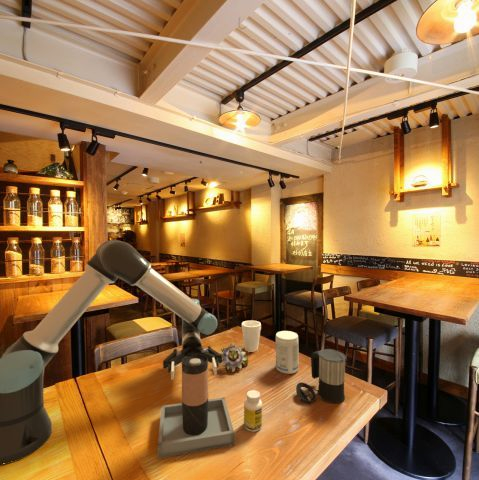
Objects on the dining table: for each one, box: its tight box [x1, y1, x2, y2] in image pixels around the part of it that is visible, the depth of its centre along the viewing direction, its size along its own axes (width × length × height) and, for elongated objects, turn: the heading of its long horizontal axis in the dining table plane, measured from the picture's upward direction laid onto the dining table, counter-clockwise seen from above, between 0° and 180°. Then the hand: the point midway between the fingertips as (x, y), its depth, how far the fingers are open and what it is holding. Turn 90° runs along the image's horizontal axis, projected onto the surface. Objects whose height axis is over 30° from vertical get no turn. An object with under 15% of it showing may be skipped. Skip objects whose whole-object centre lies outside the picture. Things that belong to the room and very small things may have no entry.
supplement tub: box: [275, 330, 300, 375], centre depth 114 cm, size 10×10×15 cm
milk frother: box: [295, 348, 347, 404], centre depth 95 cm, size 14×16×15 cm
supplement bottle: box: [243, 389, 263, 433], centre depth 81 cm, size 5×5×10 cm
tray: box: [157, 397, 235, 460], centre depth 79 cm, size 20×16×4 cm
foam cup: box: [241, 319, 262, 352], centre depth 132 cm, size 10×9×13 cm
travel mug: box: [181, 354, 209, 435], centre depth 79 cm, size 8×8×20 cm
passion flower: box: [219, 342, 249, 373], centre depth 116 cm, size 11×11×12 cm
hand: (194, 373), depth 86 cm, fingers open, 13 cm apart
